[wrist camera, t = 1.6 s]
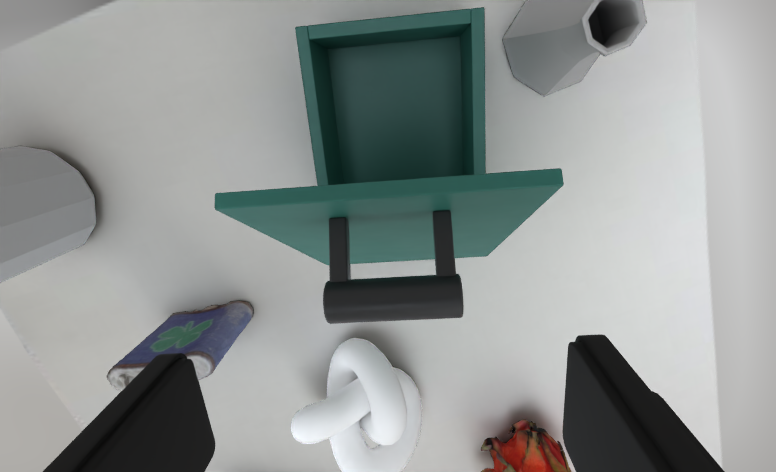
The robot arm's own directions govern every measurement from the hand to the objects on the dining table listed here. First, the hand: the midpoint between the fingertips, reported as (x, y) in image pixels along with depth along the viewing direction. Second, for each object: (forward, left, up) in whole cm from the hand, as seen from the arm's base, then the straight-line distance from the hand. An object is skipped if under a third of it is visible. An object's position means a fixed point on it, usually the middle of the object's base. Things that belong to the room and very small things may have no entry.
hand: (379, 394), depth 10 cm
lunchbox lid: (0, 0, -12) cm, 12 cm away
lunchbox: (-4, 0, -26) cm, 27 cm away
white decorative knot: (+19, -5, -27) cm, 33 cm away
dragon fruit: (+29, +10, -27) cm, 41 cm away
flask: (-10, +12, -27) cm, 31 cm away
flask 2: (+12, -20, -27) cm, 35 cm away
